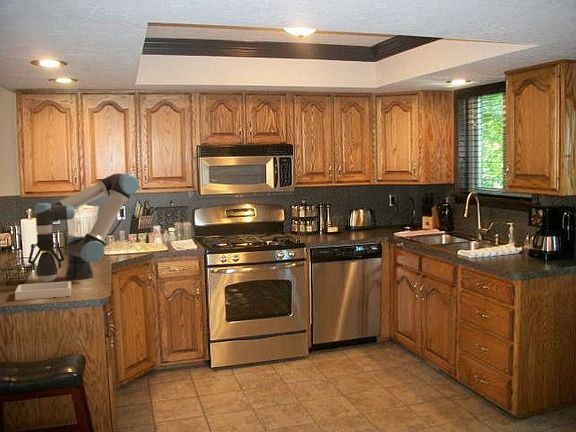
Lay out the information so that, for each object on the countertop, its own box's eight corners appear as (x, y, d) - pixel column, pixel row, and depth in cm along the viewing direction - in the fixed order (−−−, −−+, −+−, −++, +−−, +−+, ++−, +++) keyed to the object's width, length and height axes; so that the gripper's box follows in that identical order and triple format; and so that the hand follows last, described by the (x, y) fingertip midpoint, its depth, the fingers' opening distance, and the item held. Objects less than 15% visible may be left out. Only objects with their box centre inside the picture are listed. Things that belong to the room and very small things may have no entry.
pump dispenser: (53, 277, 317) (51, 249, 316) (61, 280, 309) (59, 251, 308) (34, 280, 310) (32, 252, 309) (41, 283, 303) (39, 254, 301)
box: (71, 289, 304) (71, 281, 303) (70, 296, 286) (70, 288, 286) (19, 292, 296) (18, 284, 295) (15, 300, 278) (14, 292, 278)
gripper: (68, 231, 315) (70, 272, 317) (21, 233, 307) (24, 275, 310) (67, 232, 308) (70, 274, 310) (19, 235, 300) (22, 278, 302)
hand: (47, 275), depth 310 cm, fingers closed on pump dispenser, 10 cm apart
